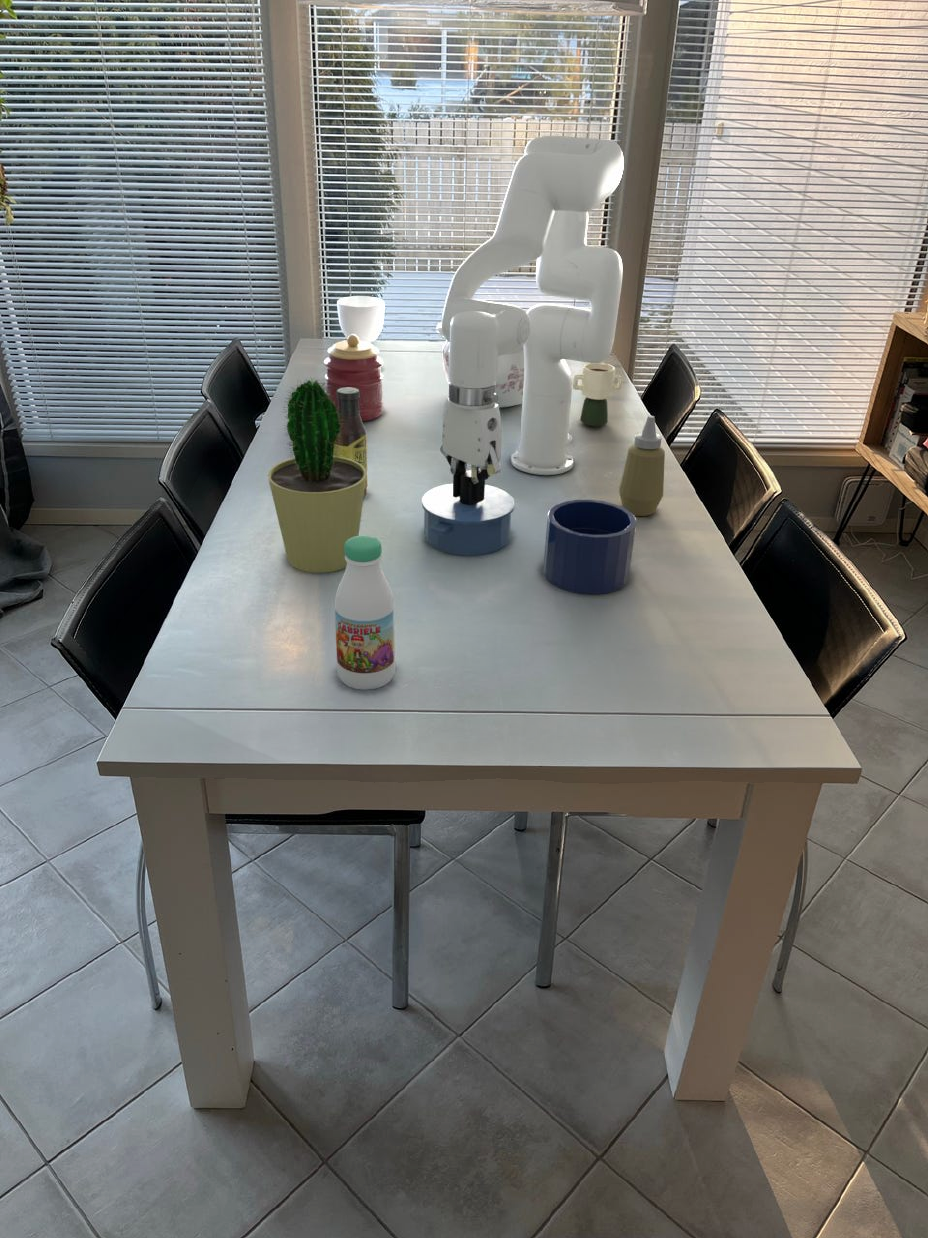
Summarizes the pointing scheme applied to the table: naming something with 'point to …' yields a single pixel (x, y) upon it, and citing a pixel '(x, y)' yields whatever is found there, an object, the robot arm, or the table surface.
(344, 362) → the kitchen canister
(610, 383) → the trophy
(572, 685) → the table surface
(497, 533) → the pan
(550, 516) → the pot
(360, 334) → the cup
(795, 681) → the table surface
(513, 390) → the chamber pot
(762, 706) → the table surface
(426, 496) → the lid
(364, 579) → the milk bottle
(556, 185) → the robot arm
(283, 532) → the potted cactus
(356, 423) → the sauce bottle
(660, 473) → the squeeze bottle
